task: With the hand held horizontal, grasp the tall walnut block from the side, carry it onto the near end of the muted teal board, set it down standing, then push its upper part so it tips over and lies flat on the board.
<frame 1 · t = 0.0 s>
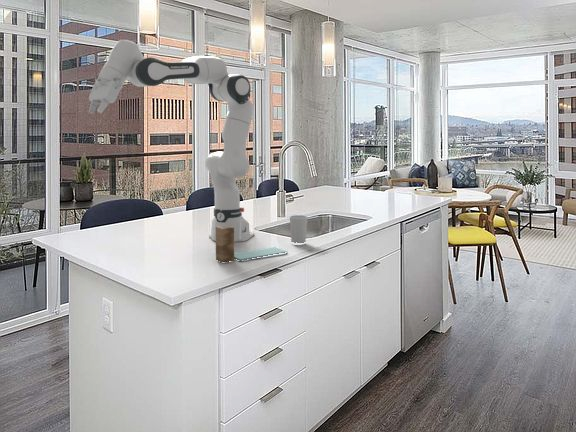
hand: (94, 112, 186), 54 cm above the worktop, tool tilted 30°, fingers open, 8 cm apart
board: (258, 255, 201), on the worktop
cup: (298, 244, 222), on the worktop
block: (225, 260, 192), on the worktop
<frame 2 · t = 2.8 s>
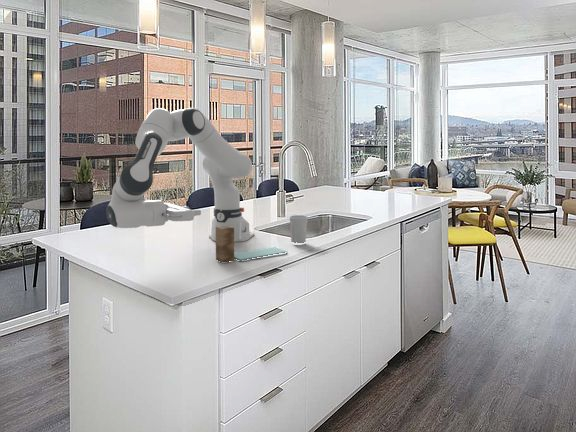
hand: (193, 210, 182), 20 cm above the worktop, tool horizontal, fingers open, 8 cm apart
nothing on the worktop moved.
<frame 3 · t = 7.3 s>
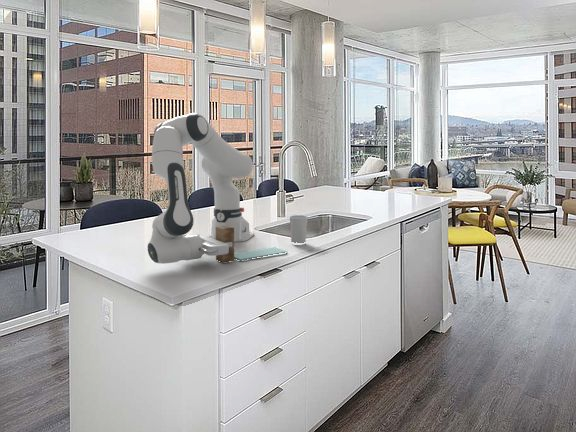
hand: (227, 242, 192), 7 cm above the worktop, tool horizontal, fingers closed on block, 5 cm apart
block: (225, 260, 192), on the worktop, touching gripper
everything else where it was.
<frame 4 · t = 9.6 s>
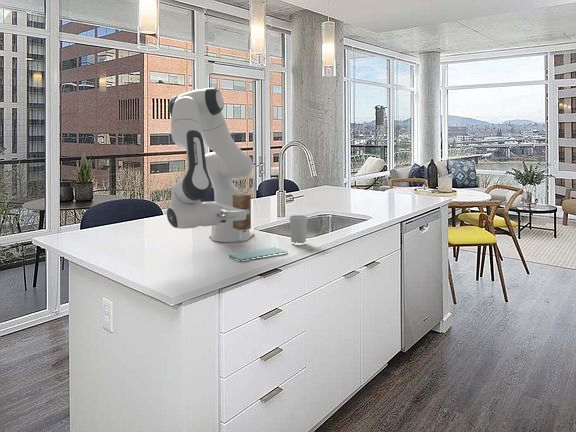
hand: (243, 210, 194), 19 cm above the worktop, tool horizontal, fingers closed on block, 5 cm apart
block: (241, 228, 195), point 12 cm above the worktop, touching gripper
everything else where it was.
when the fingers open (9 cm above the worktop, at t = 12.1 s): block stays where it is, resting on board.
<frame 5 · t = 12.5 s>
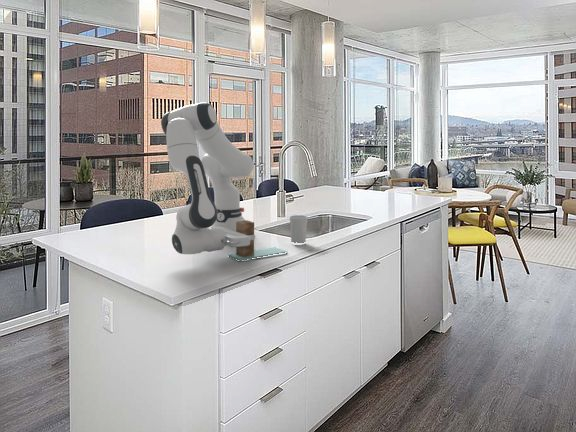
hand: (247, 234, 197), 9 cm above the worktop, tool horizontal, fingers open, 8 cm apart
block: (245, 254, 198), point 1 cm above the worktop, touching board
everything else where it was.
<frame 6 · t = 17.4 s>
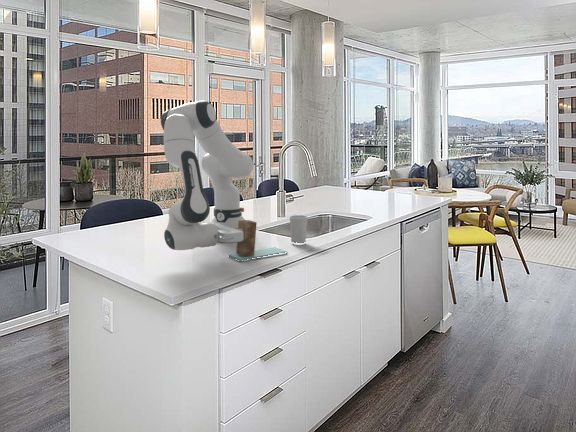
hand: (241, 230, 195), 11 cm above the worktop, tool horizontal, fingers closed, pressing on block
block: (245, 254, 198), point 1 cm above the worktop, touching board, gripper
everything else where it was.
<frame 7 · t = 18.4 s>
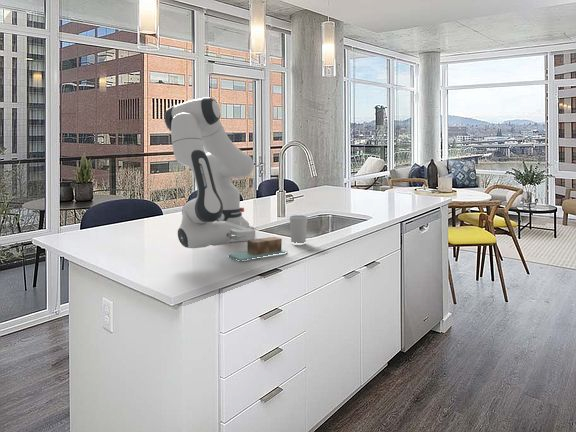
hand: (252, 228, 198), 11 cm above the worktop, tool horizontal, fingers closed
block: (250, 247, 199), point 3 cm above the worktop, tilted 90°, touching board
everything else where it was.
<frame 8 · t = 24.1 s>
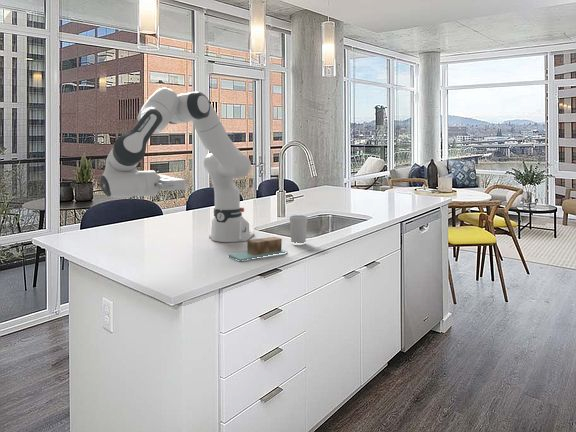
hand: (186, 181, 186), 30 cm above the worktop, tool horizontal, fingers closed
nothing on the worktop moved.
at the end: block tilted 90°; block inside the target area on the board (3.5 cm from its centre), point 3.5 cm above the board's base; the gripper is holding nothing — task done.
